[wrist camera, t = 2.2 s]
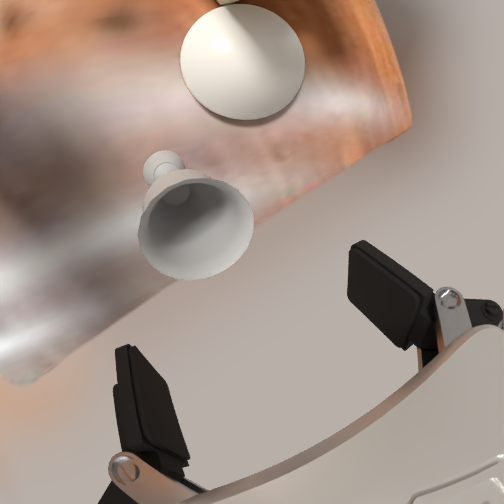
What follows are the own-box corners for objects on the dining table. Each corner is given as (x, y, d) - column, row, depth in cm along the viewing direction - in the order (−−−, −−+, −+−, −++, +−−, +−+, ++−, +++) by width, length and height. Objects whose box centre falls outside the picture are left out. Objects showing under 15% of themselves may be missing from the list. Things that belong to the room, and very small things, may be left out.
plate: (167, 16, 21) (169, 13, 20) (288, 5, 24) (292, 3, 23) (196, 134, 30) (198, 135, 29) (308, 107, 33) (313, 108, 33)
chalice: (132, 197, 30) (138, 283, 16) (136, 142, 27) (139, 175, 13) (189, 198, 33) (244, 276, 19) (196, 144, 30) (263, 181, 16)
